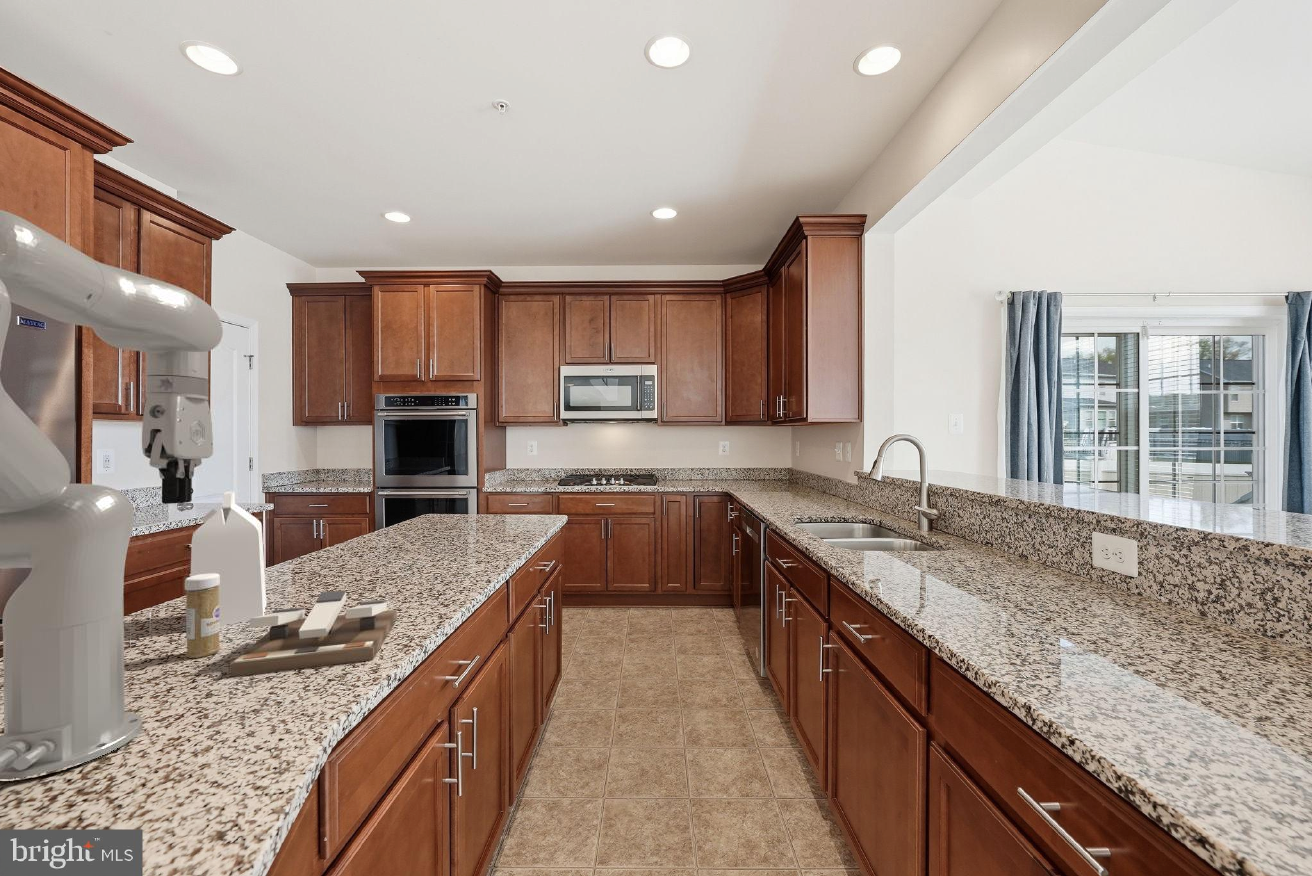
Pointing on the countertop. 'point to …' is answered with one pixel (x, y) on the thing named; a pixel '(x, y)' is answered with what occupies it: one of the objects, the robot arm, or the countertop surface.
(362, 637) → the switch unit
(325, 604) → the rocker middle
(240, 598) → the milk
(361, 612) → the block
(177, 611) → the countertop surface
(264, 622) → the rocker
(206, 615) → the sprinkles bottle
